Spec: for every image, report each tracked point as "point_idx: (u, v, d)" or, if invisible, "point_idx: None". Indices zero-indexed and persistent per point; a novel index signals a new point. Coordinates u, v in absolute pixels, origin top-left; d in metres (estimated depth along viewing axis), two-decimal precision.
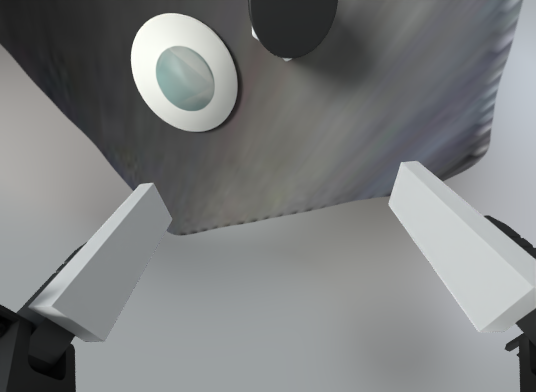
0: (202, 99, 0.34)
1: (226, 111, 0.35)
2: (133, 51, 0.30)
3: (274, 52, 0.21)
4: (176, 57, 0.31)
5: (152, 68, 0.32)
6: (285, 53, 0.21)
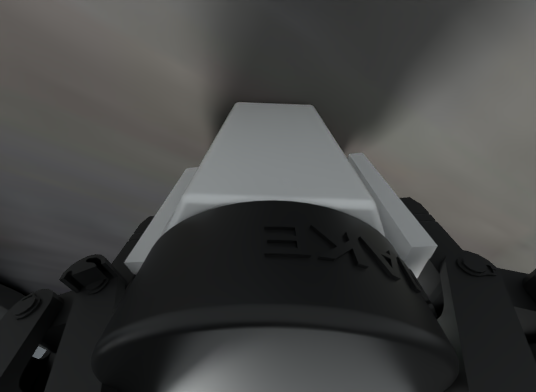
0: None
1: None
2: None
3: None
4: None
5: None
6: None
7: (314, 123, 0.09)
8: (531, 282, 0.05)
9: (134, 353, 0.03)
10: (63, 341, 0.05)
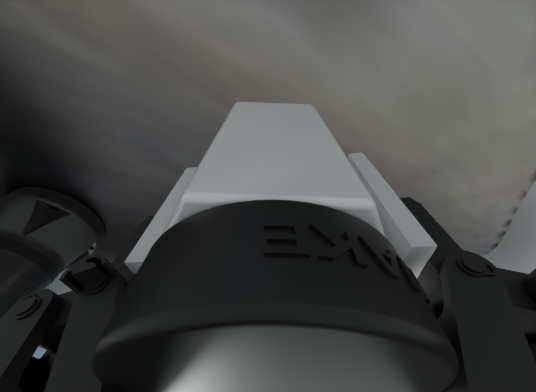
0: None
1: None
2: None
3: None
4: None
5: None
6: None
7: (314, 123, 0.09)
8: (531, 282, 0.05)
9: (133, 352, 0.03)
10: (63, 341, 0.05)
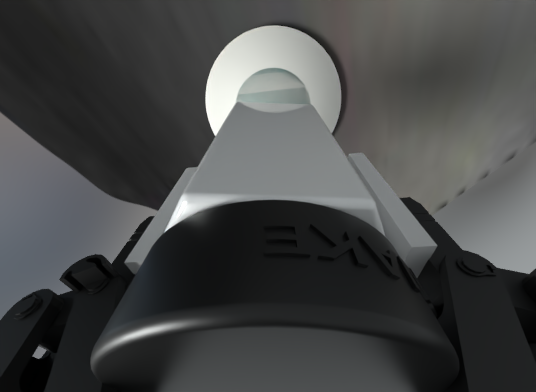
0: None
1: (335, 103, 0.24)
2: (213, 128, 0.26)
3: None
4: (250, 95, 0.24)
5: None
6: None
7: (314, 123, 0.09)
8: (531, 282, 0.05)
9: (133, 352, 0.03)
10: (63, 341, 0.05)
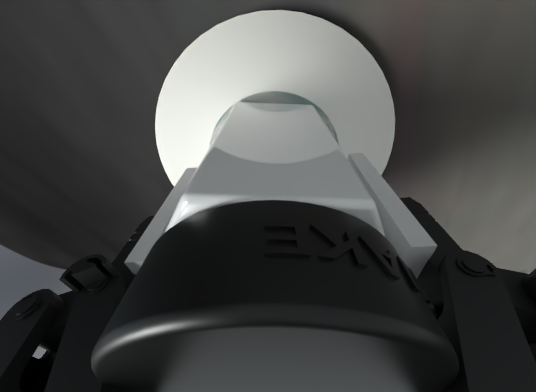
0: None
1: (382, 149, 0.14)
2: (175, 184, 0.16)
3: None
4: None
5: None
6: None
7: (314, 123, 0.09)
8: (531, 282, 0.05)
9: (134, 352, 0.03)
10: (64, 340, 0.05)
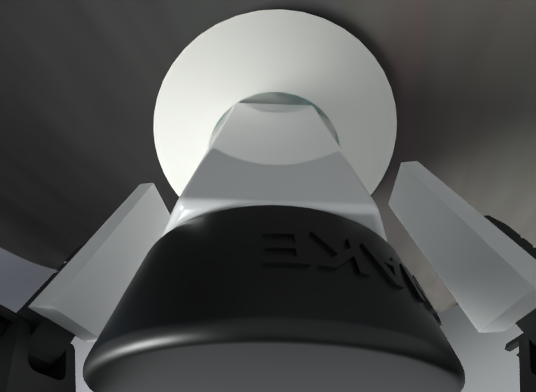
0: None
1: (383, 151, 0.14)
2: (174, 186, 0.16)
3: None
4: None
5: None
6: None
7: (314, 124, 0.09)
8: None
9: (126, 366, 0.03)
10: None
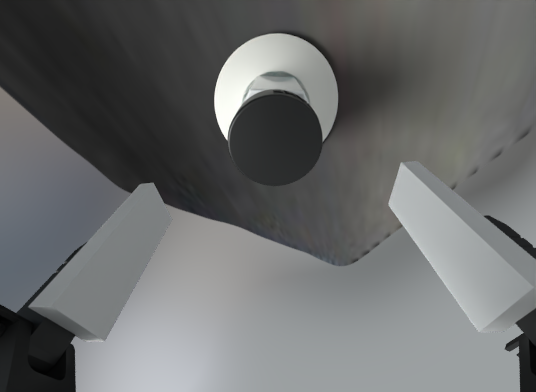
0: None
1: (333, 103, 0.27)
2: (221, 126, 0.29)
3: (314, 164, 0.18)
4: None
5: None
6: (316, 153, 0.18)
7: (293, 81, 0.22)
8: None
9: (245, 112, 0.16)
10: None
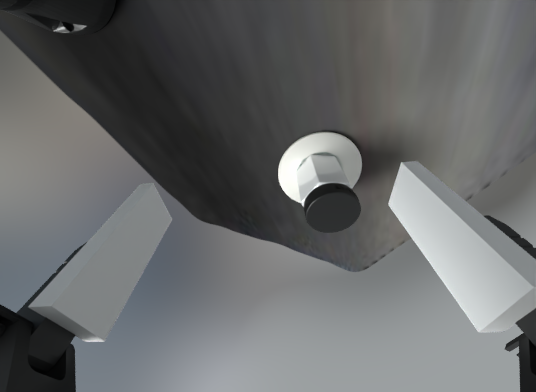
0: None
1: (358, 169, 0.40)
2: (280, 181, 0.42)
3: None
4: None
5: (295, 182, 0.42)
6: (356, 217, 0.31)
7: (336, 164, 0.35)
8: None
9: (320, 199, 0.29)
10: None
